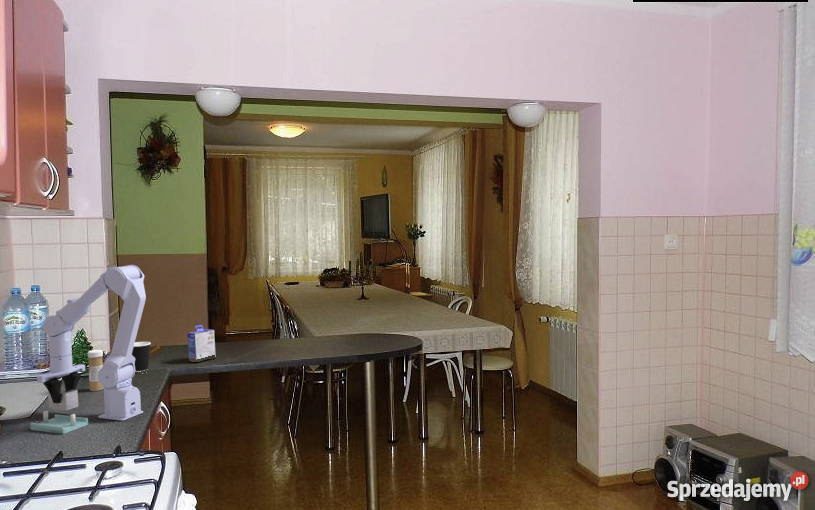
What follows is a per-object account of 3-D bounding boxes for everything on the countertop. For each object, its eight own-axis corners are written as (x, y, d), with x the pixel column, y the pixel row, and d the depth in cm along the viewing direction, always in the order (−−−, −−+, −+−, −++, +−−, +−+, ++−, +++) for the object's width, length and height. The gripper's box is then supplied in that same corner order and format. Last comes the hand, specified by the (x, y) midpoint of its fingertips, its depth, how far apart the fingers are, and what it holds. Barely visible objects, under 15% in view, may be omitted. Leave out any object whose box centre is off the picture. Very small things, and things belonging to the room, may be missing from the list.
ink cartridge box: (207, 357, 254) (206, 323, 253) (216, 358, 251) (215, 324, 250) (187, 362, 246) (186, 326, 245) (196, 363, 243) (195, 327, 242)
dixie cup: (125, 374, 227) (123, 345, 226) (136, 369, 235) (134, 341, 234) (145, 374, 226) (144, 345, 225) (155, 369, 234) (154, 341, 233)
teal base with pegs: (88, 424, 170) (87, 410, 169) (63, 434, 162) (62, 419, 162) (56, 420, 174) (55, 406, 173) (30, 429, 166) (29, 415, 166)
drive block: (78, 406, 180) (77, 389, 180) (66, 410, 176) (65, 393, 176) (60, 404, 182) (59, 387, 182) (49, 408, 179) (47, 391, 178)
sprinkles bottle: (92, 388, 208) (90, 349, 208) (106, 387, 209) (104, 349, 208) (87, 391, 204) (85, 352, 203) (101, 391, 204) (99, 351, 204)
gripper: (71, 349, 187) (74, 393, 187) (28, 360, 173) (31, 406, 174) (89, 350, 184) (91, 394, 185) (46, 361, 171) (49, 408, 171)
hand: (63, 400), depth 179 cm, fingers closed on drive block, 4 cm apart
